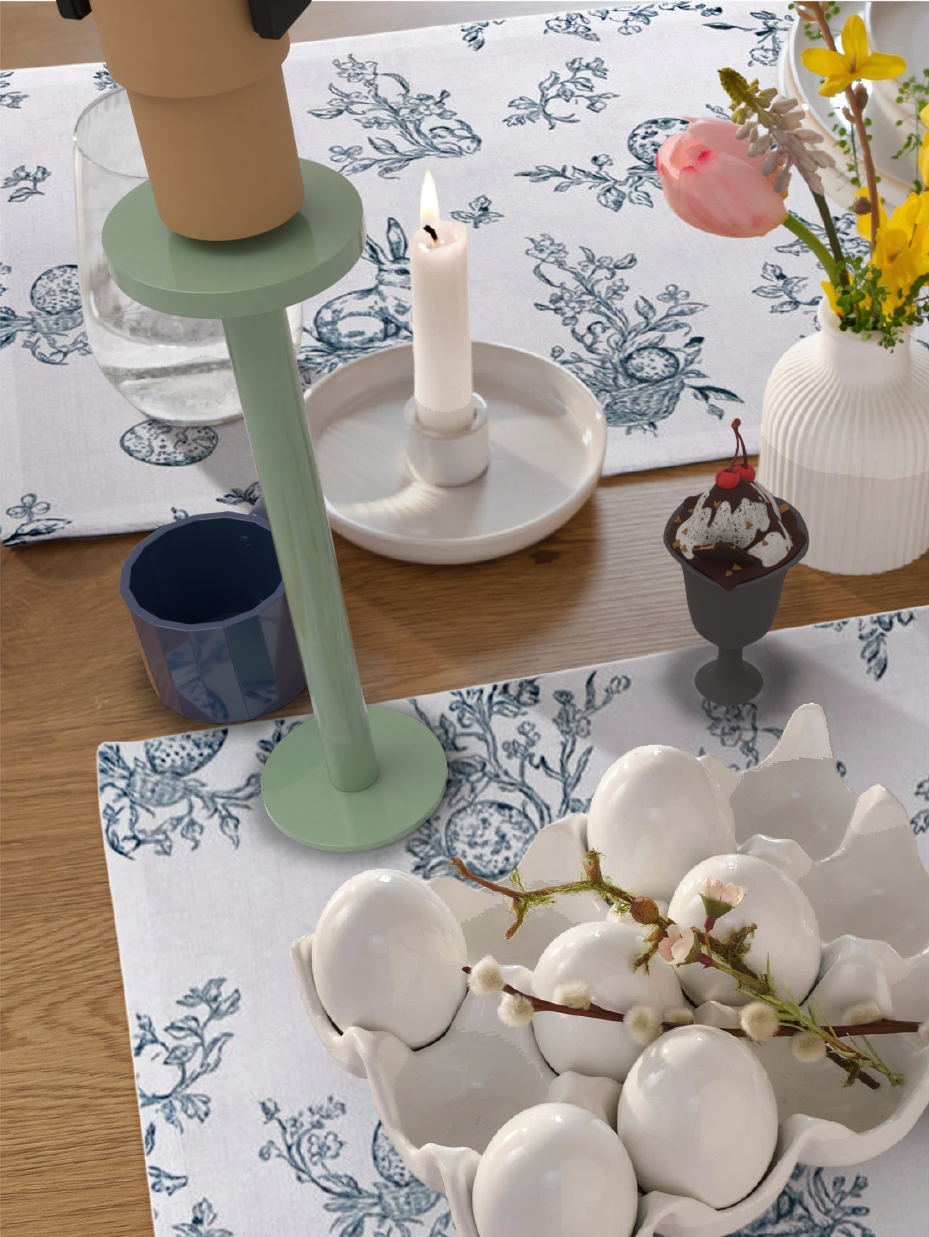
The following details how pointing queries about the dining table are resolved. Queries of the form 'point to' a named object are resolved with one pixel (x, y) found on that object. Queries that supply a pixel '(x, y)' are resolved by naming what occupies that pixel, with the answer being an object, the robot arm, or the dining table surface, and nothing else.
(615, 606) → the dining table surface
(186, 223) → the paper cup
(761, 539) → the sundae
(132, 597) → the mug
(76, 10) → the robot arm
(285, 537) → the green pedestal stand
